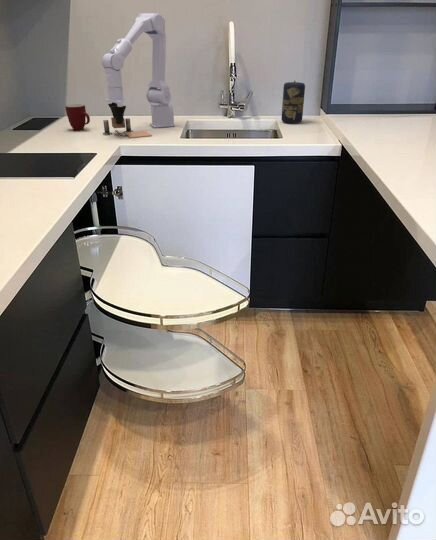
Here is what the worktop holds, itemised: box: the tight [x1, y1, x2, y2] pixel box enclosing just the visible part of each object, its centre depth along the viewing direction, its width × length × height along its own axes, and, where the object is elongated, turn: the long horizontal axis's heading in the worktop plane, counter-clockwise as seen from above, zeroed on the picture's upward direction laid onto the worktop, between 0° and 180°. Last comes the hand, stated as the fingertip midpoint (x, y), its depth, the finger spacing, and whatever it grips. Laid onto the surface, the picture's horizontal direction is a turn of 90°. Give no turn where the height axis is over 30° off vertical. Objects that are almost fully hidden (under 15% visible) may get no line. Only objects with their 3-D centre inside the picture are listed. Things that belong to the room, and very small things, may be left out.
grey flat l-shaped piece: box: [114, 129, 128, 137], centre depth 191 cm, size 4×12×1 cm, turn 22°
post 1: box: [102, 119, 113, 136], centre depth 189 cm, size 4×4×6 cm
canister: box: [281, 80, 306, 124], centre depth 207 cm, size 10×10×18 cm
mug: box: [64, 103, 91, 132], centre depth 195 cm, size 10×8×10 cm
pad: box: [124, 130, 152, 139], centre depth 189 cm, size 9×9×1 cm
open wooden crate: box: [110, 116, 126, 129], centre depth 186 cm, size 4×4×4 cm
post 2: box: [124, 117, 134, 132], centre depth 192 cm, size 4×4×6 cm
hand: (118, 122), depth 186 cm, fingers closed on open wooden crate, 4 cm apart
